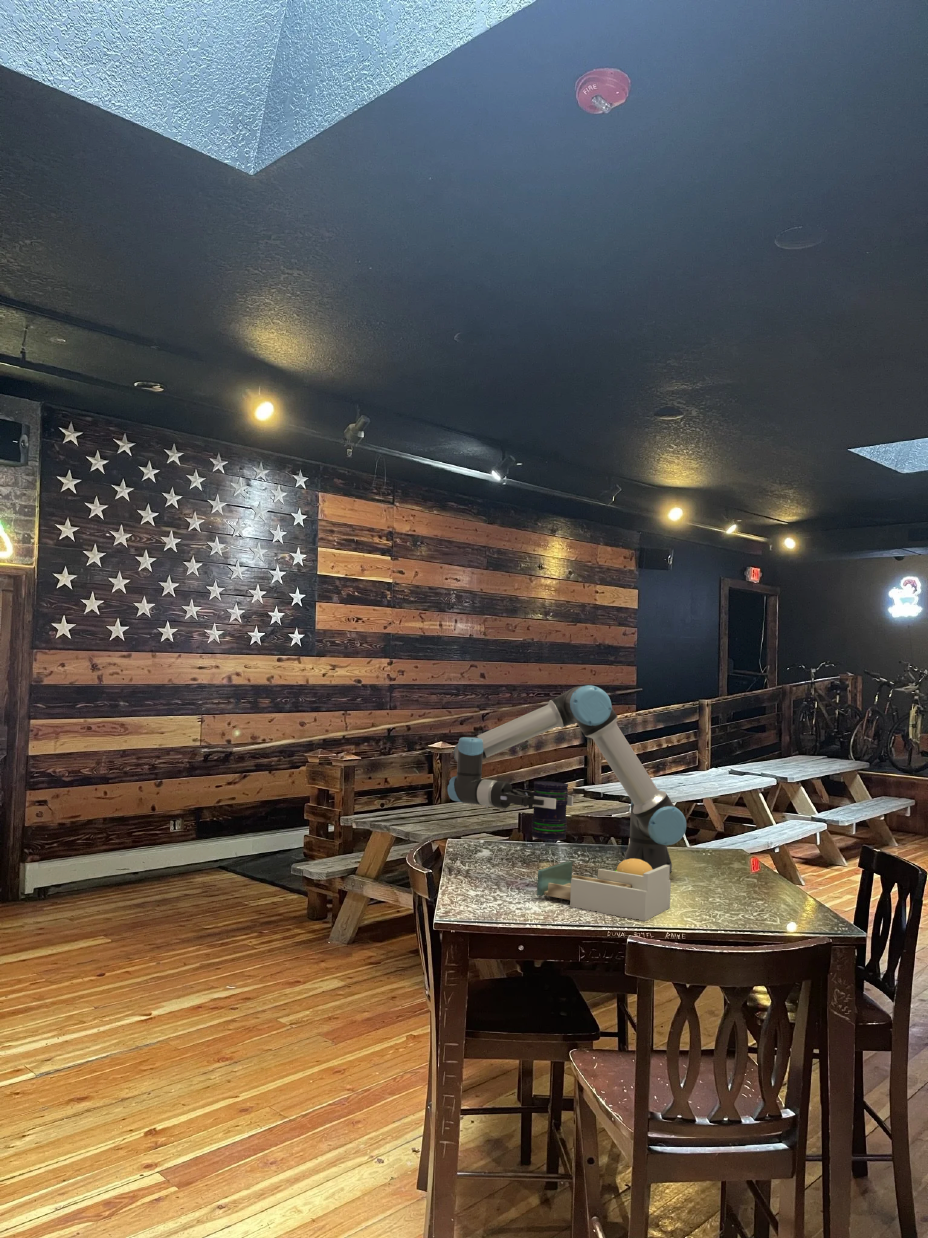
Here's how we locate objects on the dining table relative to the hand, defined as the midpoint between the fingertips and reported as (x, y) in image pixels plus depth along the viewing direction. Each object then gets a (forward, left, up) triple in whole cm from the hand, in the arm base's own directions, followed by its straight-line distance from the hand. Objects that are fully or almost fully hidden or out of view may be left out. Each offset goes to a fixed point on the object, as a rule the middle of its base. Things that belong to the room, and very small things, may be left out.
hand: (564, 802), depth 243 cm
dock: (-10, +19, -24) cm, 32 cm away
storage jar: (+3, -3, -10) cm, 11 cm away
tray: (-3, +13, -23) cm, 26 cm away
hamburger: (-22, 0, -24) cm, 33 cm away
